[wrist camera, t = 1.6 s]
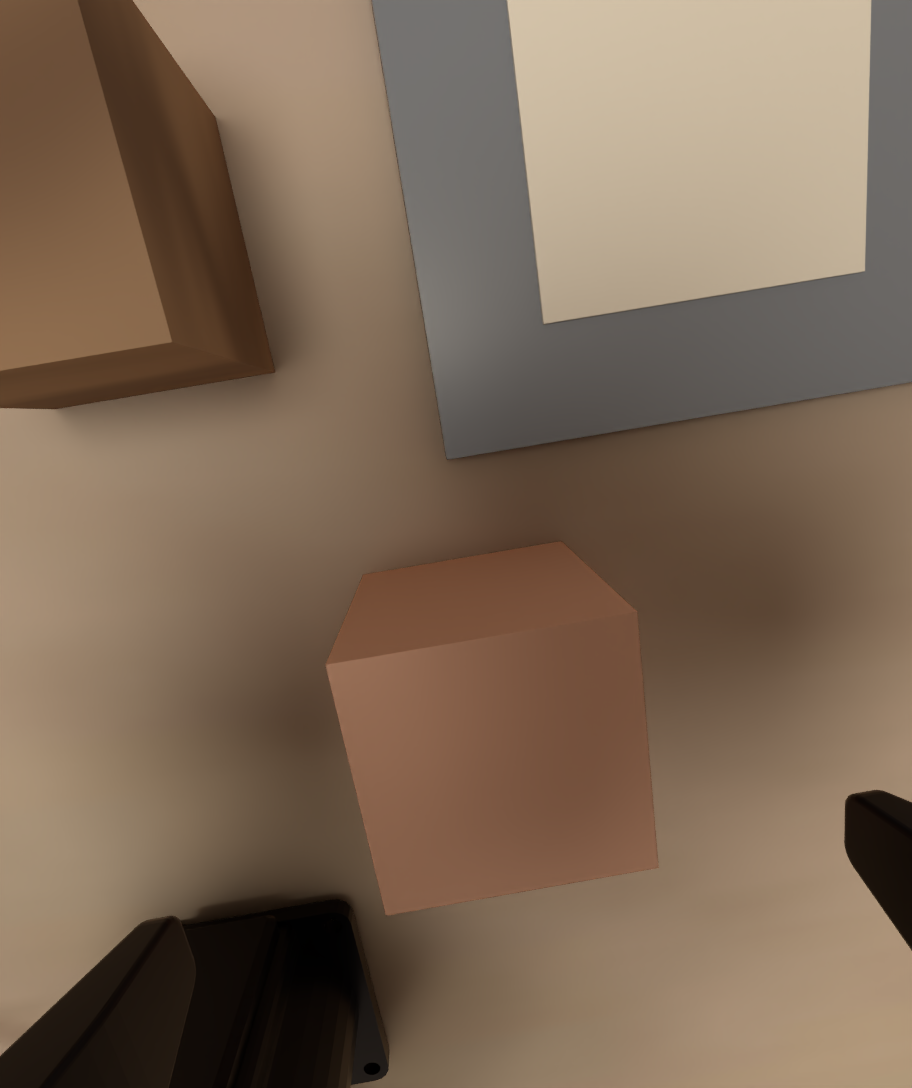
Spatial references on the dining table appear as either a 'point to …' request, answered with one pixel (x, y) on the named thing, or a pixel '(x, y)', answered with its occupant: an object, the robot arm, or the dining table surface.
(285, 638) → the dining table surface
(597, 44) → the grey flat plate
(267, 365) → the walnut block
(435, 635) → the terracotta block
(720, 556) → the dining table surface
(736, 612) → the dining table surface
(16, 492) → the dining table surface
